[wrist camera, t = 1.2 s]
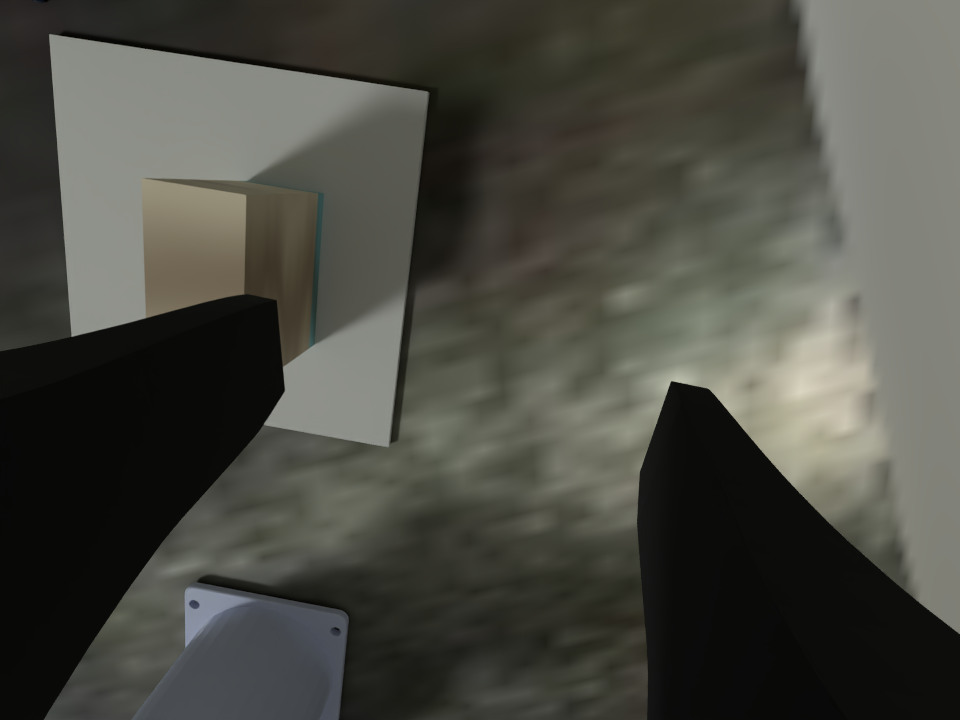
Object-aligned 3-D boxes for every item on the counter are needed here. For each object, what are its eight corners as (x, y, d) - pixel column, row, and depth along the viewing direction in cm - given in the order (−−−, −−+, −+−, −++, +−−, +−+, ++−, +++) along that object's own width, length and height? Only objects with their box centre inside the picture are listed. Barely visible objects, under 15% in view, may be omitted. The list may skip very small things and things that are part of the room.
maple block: (314, 344, 23) (241, 396, 17) (243, 332, 23) (148, 380, 17) (323, 193, 21) (246, 194, 15) (246, 180, 21) (141, 177, 15)
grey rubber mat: (390, 444, 24) (388, 447, 24) (81, 389, 25) (75, 391, 25) (429, 93, 20) (428, 91, 20) (56, 36, 21) (49, 34, 20)
